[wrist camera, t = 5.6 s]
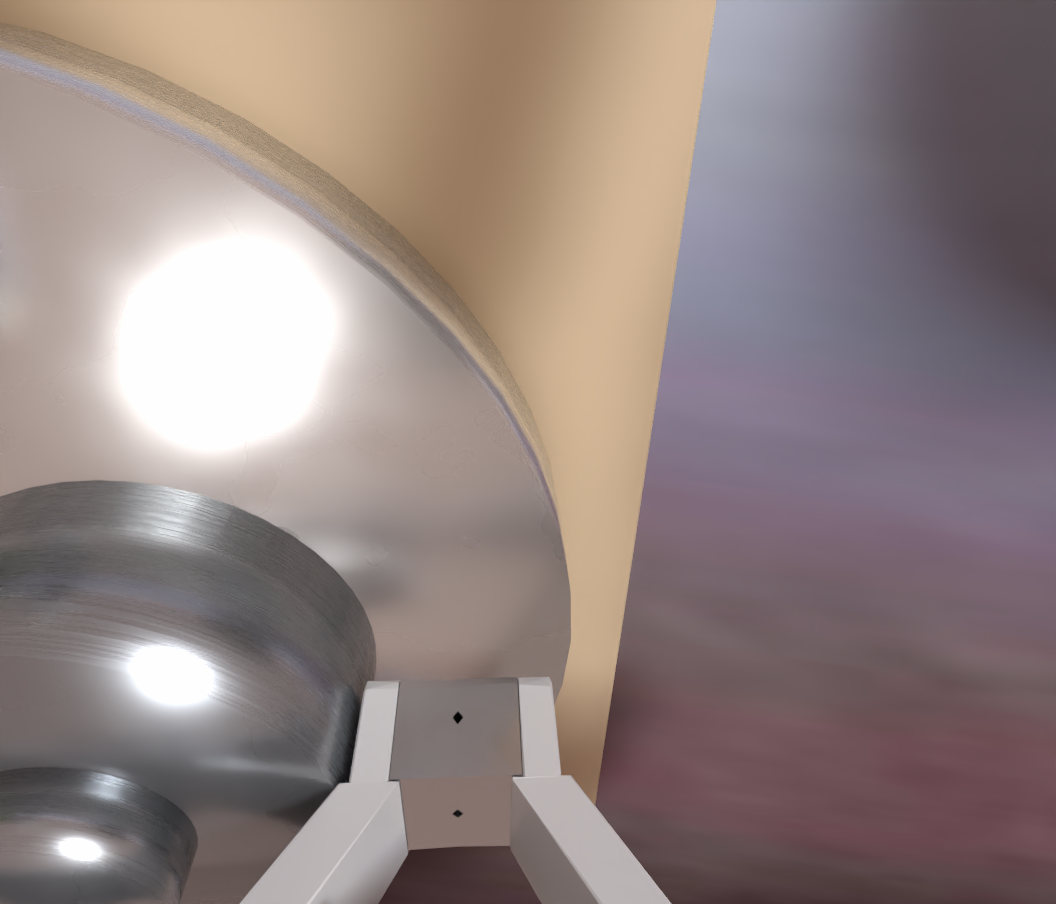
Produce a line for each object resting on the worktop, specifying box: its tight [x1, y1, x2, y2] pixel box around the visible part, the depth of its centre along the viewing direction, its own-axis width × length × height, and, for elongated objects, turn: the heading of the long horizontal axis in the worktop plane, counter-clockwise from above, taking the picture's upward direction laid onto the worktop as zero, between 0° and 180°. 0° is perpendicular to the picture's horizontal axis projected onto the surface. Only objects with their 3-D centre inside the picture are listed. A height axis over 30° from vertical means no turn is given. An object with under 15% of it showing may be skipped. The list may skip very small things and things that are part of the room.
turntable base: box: [0, 0, 716, 805], centre depth 14 cm, size 21×21×1 cm
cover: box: [0, 480, 376, 904], centre depth 10 cm, size 7×7×4 cm
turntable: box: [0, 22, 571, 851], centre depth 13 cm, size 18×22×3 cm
